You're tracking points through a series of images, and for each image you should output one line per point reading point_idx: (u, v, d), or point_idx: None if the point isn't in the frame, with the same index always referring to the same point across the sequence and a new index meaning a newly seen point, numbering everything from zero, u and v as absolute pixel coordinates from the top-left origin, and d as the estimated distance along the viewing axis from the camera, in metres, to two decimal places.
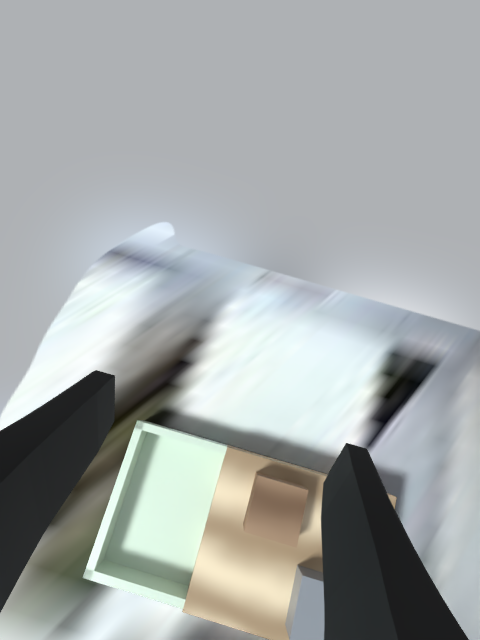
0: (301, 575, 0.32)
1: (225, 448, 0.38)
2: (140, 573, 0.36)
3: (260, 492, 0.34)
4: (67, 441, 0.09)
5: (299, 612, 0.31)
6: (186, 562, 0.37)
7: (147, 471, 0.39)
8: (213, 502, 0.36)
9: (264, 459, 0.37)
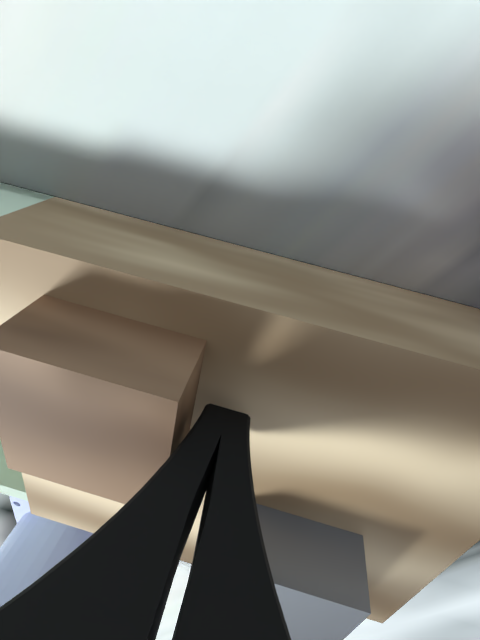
0: None
1: None
2: None
3: (8, 392, 0.09)
4: (203, 482, 0.09)
5: None
6: None
7: None
8: None
9: (103, 271, 0.10)
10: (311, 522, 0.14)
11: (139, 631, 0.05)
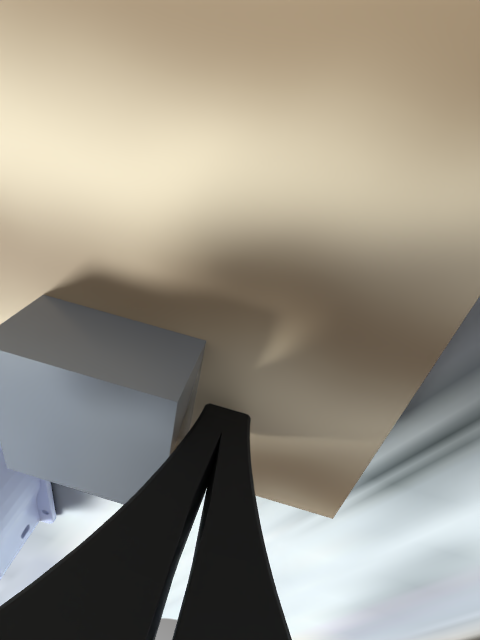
0: None
1: None
2: None
3: None
4: (203, 482, 0.09)
5: (7, 425, 0.10)
6: None
7: None
8: None
9: None
10: (137, 323, 0.10)
11: (138, 631, 0.05)
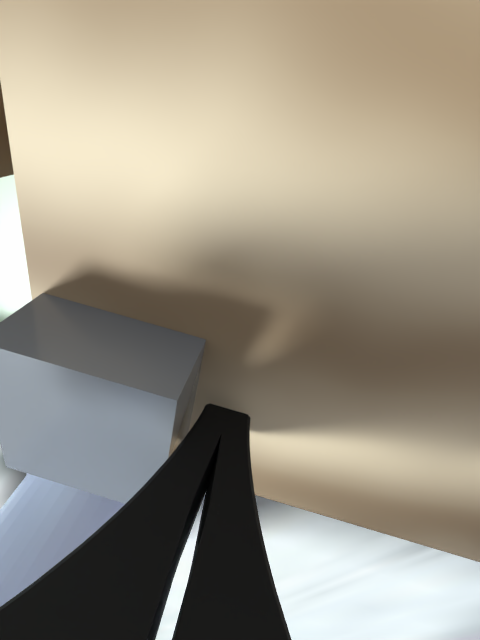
0: None
1: None
2: None
3: None
4: (203, 482, 0.09)
5: (7, 423, 0.10)
6: None
7: None
8: (20, 186, 0.09)
9: None
10: (137, 321, 0.10)
11: (139, 631, 0.05)
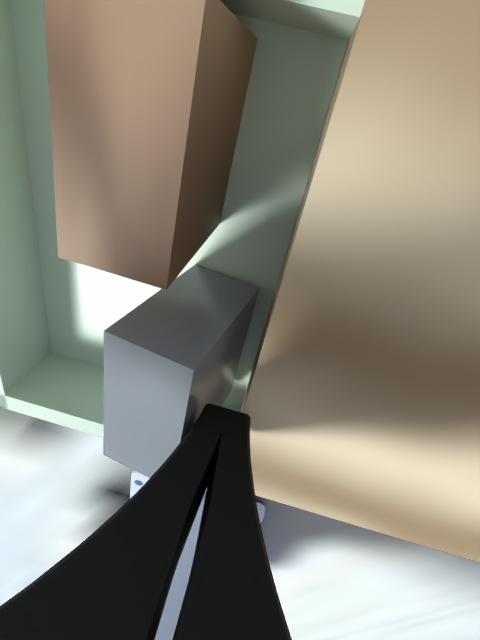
0: None
1: None
2: None
3: None
4: (203, 482, 0.09)
5: None
6: None
7: None
8: (294, 259, 0.09)
9: None
10: (223, 327, 0.10)
11: (138, 631, 0.05)
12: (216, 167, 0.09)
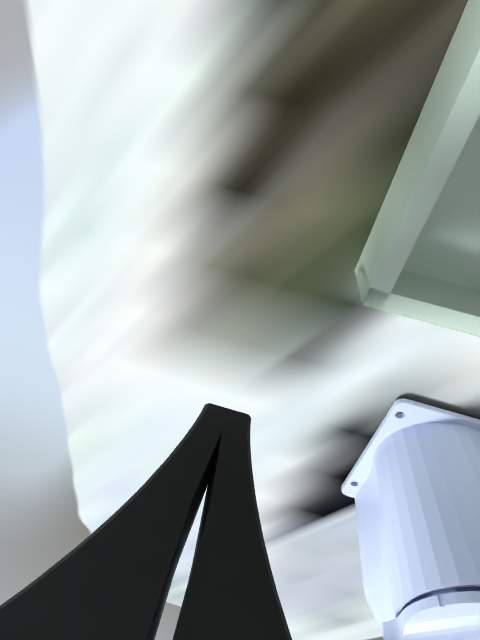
0: None
1: None
2: (473, 293, 0.16)
3: None
4: (203, 482, 0.09)
5: None
6: None
7: None
8: None
9: None
10: None
11: (138, 631, 0.05)
12: None
